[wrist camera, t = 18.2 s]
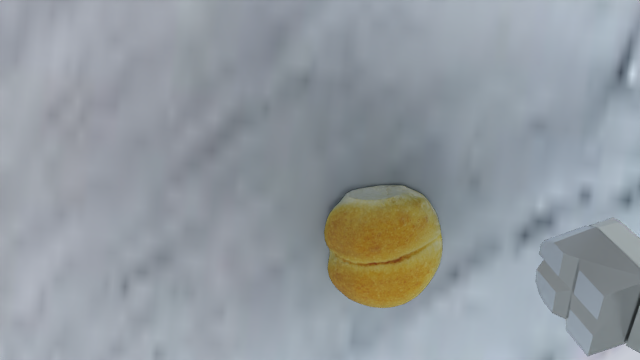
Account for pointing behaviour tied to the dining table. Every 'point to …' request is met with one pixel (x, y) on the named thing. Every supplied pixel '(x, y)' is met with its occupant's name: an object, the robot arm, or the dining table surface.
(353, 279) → the bread roll
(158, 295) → the dining table surface
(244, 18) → the dining table surface
